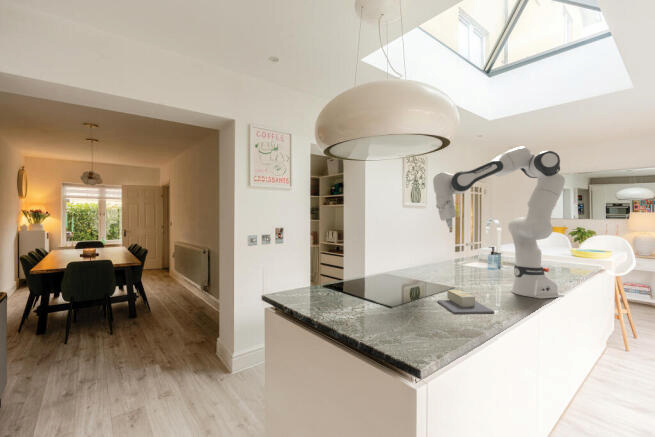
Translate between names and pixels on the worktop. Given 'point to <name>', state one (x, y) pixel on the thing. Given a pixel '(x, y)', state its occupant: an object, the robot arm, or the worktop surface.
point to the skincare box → (461, 298)
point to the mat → (464, 308)
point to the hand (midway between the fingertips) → (450, 227)
